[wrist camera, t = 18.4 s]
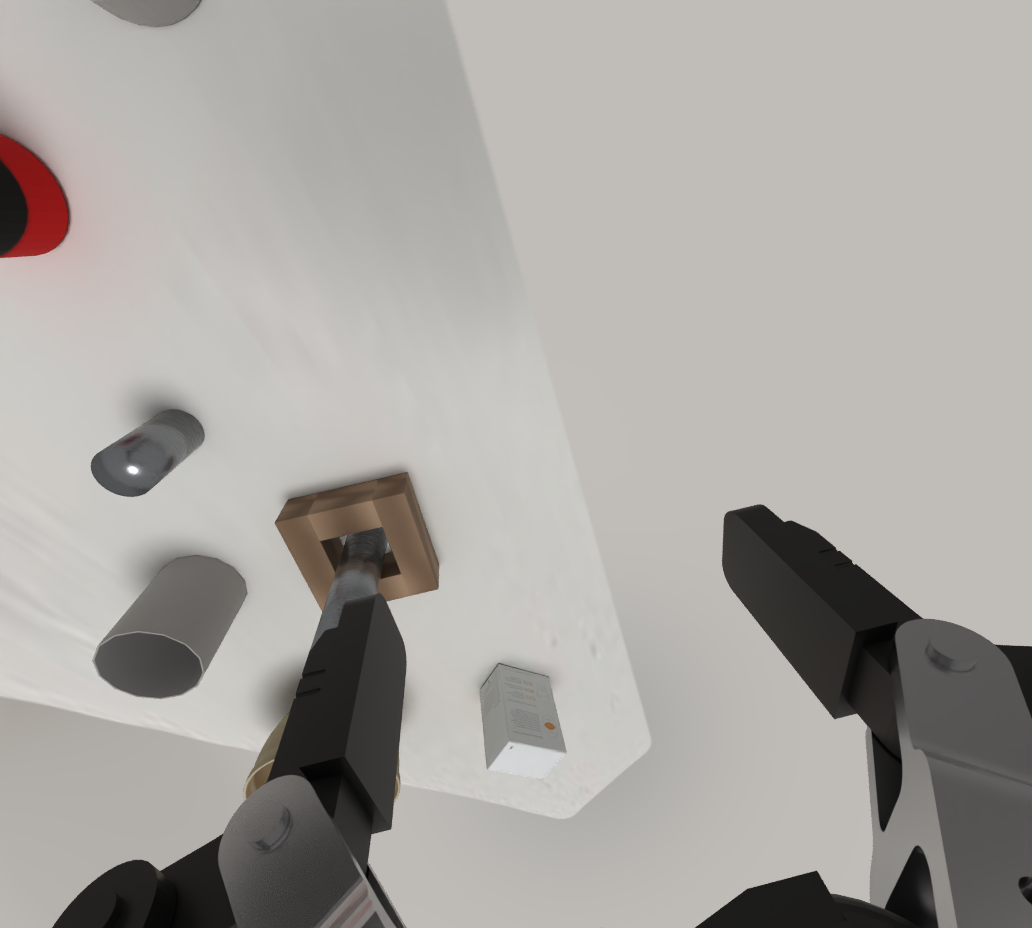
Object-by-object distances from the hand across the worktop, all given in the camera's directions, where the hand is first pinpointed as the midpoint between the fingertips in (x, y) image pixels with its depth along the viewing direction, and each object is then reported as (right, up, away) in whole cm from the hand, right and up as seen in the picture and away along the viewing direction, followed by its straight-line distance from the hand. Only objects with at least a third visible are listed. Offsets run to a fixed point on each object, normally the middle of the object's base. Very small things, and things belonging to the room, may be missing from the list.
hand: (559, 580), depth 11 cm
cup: (-34, -10, +38) cm, 52 cm away
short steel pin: (-31, +6, +30) cm, 43 cm away
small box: (-1, -27, +51) cm, 58 cm away
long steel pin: (-16, -5, +37) cm, 41 cm away
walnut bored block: (-17, -5, +37) cm, 41 cm away
